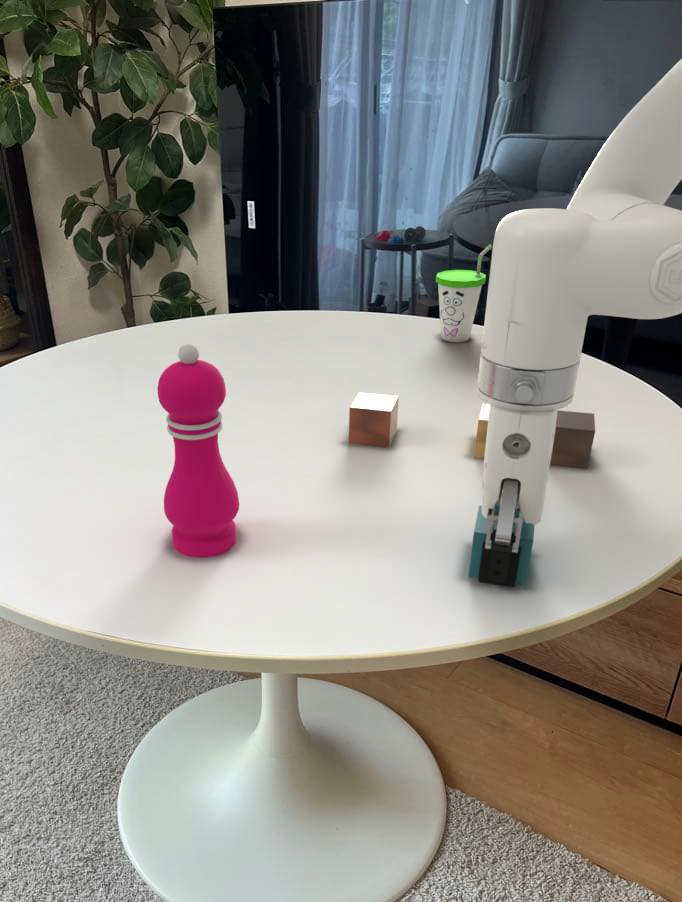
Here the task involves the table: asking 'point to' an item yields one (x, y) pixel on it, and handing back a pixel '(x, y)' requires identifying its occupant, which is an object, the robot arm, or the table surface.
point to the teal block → (480, 537)
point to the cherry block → (373, 420)
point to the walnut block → (573, 439)
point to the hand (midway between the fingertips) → (499, 564)
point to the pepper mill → (197, 458)
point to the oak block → (482, 431)
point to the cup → (459, 300)
